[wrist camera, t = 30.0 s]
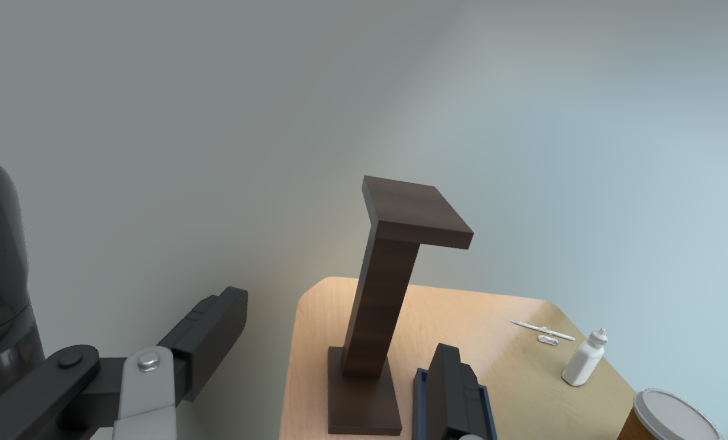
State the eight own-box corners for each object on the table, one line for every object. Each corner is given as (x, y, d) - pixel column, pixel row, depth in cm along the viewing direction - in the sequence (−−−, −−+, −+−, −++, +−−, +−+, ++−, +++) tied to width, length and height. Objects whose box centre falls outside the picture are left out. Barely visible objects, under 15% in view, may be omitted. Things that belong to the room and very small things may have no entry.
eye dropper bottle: (594, 389, 63) (627, 340, 58) (565, 385, 62) (596, 335, 57) (580, 370, 67) (610, 323, 62) (553, 366, 66) (581, 318, 61)
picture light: (574, 339, 75) (578, 332, 74) (581, 354, 71) (586, 346, 70) (510, 321, 77) (513, 313, 76) (513, 333, 73) (517, 326, 72)
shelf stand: (399, 435, 47) (474, 233, 34) (328, 433, 46) (378, 219, 33) (384, 356, 60) (434, 186, 47) (327, 352, 58) (364, 175, 45)
